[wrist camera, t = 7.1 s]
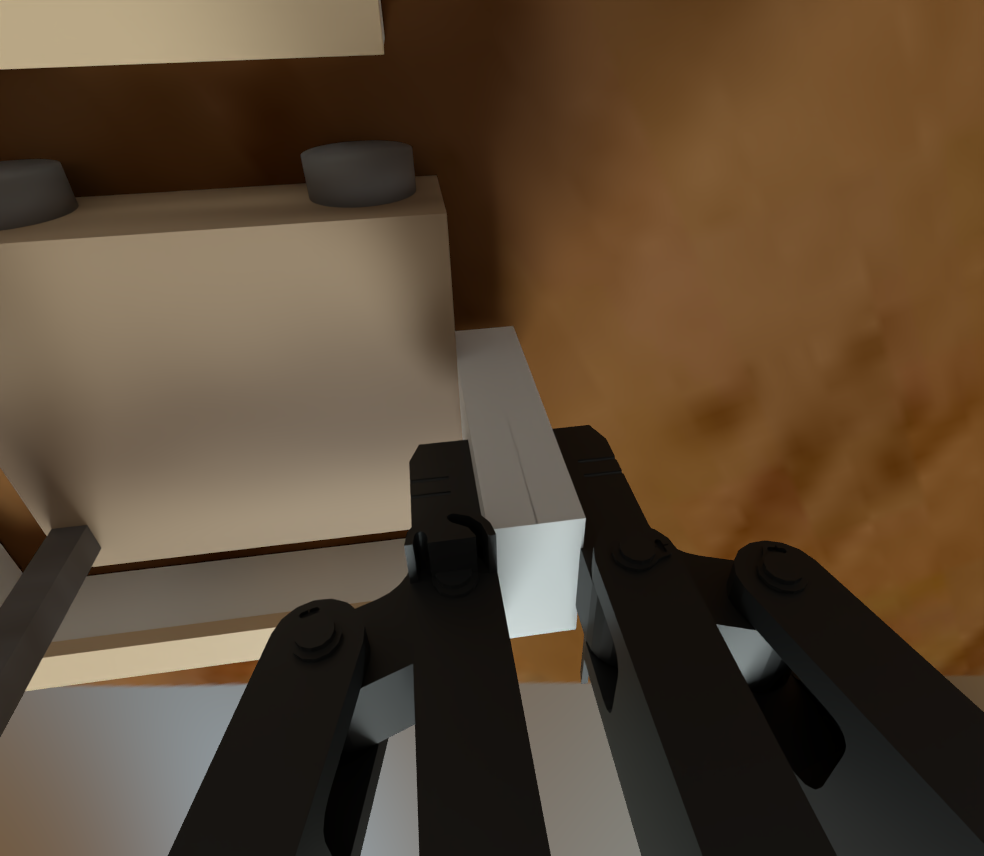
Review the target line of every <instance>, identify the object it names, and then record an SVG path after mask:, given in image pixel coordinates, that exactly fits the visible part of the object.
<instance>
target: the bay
mask: <svg viewBox="0 0 984 856" xmlns="http://www.w3.org/2000/svg"><path fill="white" fill-rule="evenodd" d="M384 40H385V36H384V27H383V17H382V8H381V0H0V69H25V68H50V67H76V66H102V65H128V64H153V63H179V62H205V61H230V60H256V59H282V58H307V57H333V56H359V55H384V46H383V45H384ZM405 539H406V538H404V539H395V540H387V541H379V542H370V543H362V544H353V545H345V546H337V547H328V548H320V549H311V550H303V551H294V552H286V553H278V554H269V555H261V556H252V557H244V558H236V559H227V560H219V561H210V562H202V563H194V564H185V565H177V566H168V567H160V568H151V569H143V570H135V571H126V572H118V573H109V574H101V575H93V576H86V578H85V580H84V582H83V584H82V586H81V588H80V589H79V591H78V593H77V595H76V597H75V599H74V601H73V602H72V604H71V606H70V608H69V610H68V612H67V614H66V616H65V617H64V619H63V621H62V623H61V625H60V627H59V629H58V630H57V632H56V634H55V636H54V638H53V640H52V642H51V644H50V645H49V647H48V649H47V651H46V653H45V655H44V657H43V658H42V660H41V662H40V664H39V666H38V668H37V670H36V672H35V673H34V675H33V677H32V679H31V681H30V683H29V685H28V686H27V688H26V690H25V691H30V690H37V689H45V688H52V687H59V686H67V685H74V684H82V683H89V682H96V681H104V680H111V679H118V678H126V677H133V676H141V675H148V674H155V673H163V672H170V671H177V670H185V669H192V668H200V667H207V666H214V665H222V664H229V663H236V662H244V661H251V660H259V659H260V657H261V654H262V652H263V650H264V648H265V646H266V644H267V642H268V639H269V637H270V635H271V633H272V632H273V631H274V629H275V628H276V626H277V625H278V623H279V622H280V620H281V619H282V618H284V617H285V616H286V615H287V614H289V613H290V612H291V611H293V610H294V609H295V608H296V607H299V606H301V605H304V604H306V603H309V602H311V601H314V600H322V599H336V600H340V601H344V602H348V603H349V604H350V605H351V606H353V607H354V608H358V607H360V606H362V605H365V604H367V603H370V602H372V601H374V600H377V599H379V598H381V597H382V596H384V595H386V594H388V593H390V592H391V591H392V590H393V589H395V588H396V587H397V586H398V585H399V584H400V583H401V582H402V581H403V579H404V578H405V577H406V576H407V574H408V567H407V561H406V555H405V549H404V543H405ZM22 574H23V573H22V571H21V570H20V569H19V567H18V566H17V565H16V563H15V562H14V561H13V559H12V558H11V557H10V555H9V554H8V553H7V551H6V550H5V549H4V547H3V546H2V545H1V543H0V607H1V606H2V604H3V603H4V601H5V600H6V598H7V597H8V595H9V593H10V592H11V590H12V589H13V587H14V586H15V584H16V583H17V581H18V580H19V578H20V577H21V575H22Z"/></svg>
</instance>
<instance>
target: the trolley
mask: <svg viewBox="0 0 984 856" xmlns="http://www.w3.org/2000/svg"><path fill="white" fill-rule="evenodd" d="M301 160H302V165H303V170H304V175H305V180H306V183H302V184H285V185H269V186H253V187H237V188H221V189H205V190H188V191H172V192H156V193H140V194H124V195H108V196H92V197H75V196H74V193H73V191H72V189H71V186H70V184H69V182H68V179H67V177H66V175H65V172H64V170H63V168H62V165H61V163H60V162H59V161H56V160H50V159H22V160H9V161H0V468H1V469H2V471H3V472H4V474H5V475H6V477H7V478H8V480H9V481H10V483H11V484H12V486H13V487H14V489H15V490H16V492H17V493H18V494H19V496H20V497H21V499H22V500H23V502H24V503H25V505H26V506H27V508H28V509H29V511H30V512H31V514H32V515H33V517H34V518H35V520H36V521H37V523H38V524H39V526H40V527H41V529H42V530H43V531H44V533H45V534H46V536H47V537H46V538H45V540H44V541H43V543H42V544H41V546H40V547H39V549H38V550H37V552H36V554H35V555H34V557H33V558H32V560H31V561H30V563H29V564H28V566H27V567H26V569H25V570H24V572H23V574H22V575H21V577H20V578H19V580H18V581H17V583H16V584H15V586H14V587H13V589H12V590H11V592H10V593H9V595H8V597H7V598H6V600H5V601H4V603H3V604H2V606H1V607H0V737H1V735H2V733H3V731H4V729H5V728H6V725H7V724H8V722H9V720H10V718H11V716H12V714H13V713H14V710H15V709H16V707H17V705H18V703H19V701H20V699H21V698H22V696H23V694H24V692H25V690H26V688H27V686H28V685H29V683H30V681H31V679H32V677H33V675H34V673H35V672H36V670H37V668H38V666H39V664H40V662H41V660H42V658H43V657H44V655H45V653H46V651H47V649H48V647H49V645H50V644H51V642H52V640H53V638H54V636H55V634H56V632H57V630H58V629H59V627H60V625H61V623H62V621H63V619H64V617H65V616H66V614H67V612H68V610H69V608H70V606H71V604H72V602H73V601H74V599H75V597H76V595H77V593H78V591H79V589H80V588H81V586H82V584H83V582H84V580H85V578H86V576H87V575H88V573H89V571H90V569H91V567H97V566H105V565H114V564H122V563H130V562H139V561H147V560H156V559H164V558H173V557H181V556H190V555H198V554H206V553H215V552H223V551H232V550H240V549H249V548H257V547H266V546H274V545H282V544H291V543H299V542H308V541H316V540H325V539H333V538H342V537H350V536H358V535H367V534H375V533H384V532H392V531H401V530H409V529H410V528H411V527H412V526H411V496H410V470H409V461H410V460H411V458H412V456H413V454H414V452H415V451H416V449H417V447H418V445H420V444H429V443H439V442H448V441H458V440H463V437H462V423H461V409H460V396H459V382H458V368H457V351H456V337H455V323H454V309H453V295H452V280H451V266H450V252H449V238H448V224H447V213H446V209H445V205H444V201H443V197H442V193H441V190H440V186H439V182H438V178H437V175H431V176H415V172H414V161H413V151H412V146H410V145H408V144H406V143H402V142H395V141H381V140H367V141H350V142H341V143H333V144H327V145H322V146H318V147H314V148H311V149H308V150H306V151H304V152H303V153H302V154H301Z"/></svg>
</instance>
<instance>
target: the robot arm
mask: <svg viewBox="0 0 984 856" xmlns="http://www.w3.org/2000/svg"><path fill="white" fill-rule="evenodd" d="M455 337H456V351H457V368H458V382H459V396H460V409H461V423H462V437H463V440H458V441H448V442H439V443H429V444H420V445H418V447H417V449H416V451H415V452H414V454H413V456H412V458H411V460H410V461H409V470H410V496H411V526H412V527H411V528H410V529H409V531H408V532H407V535H406V539H405V543H404V549H405V555H406V561H407V567H408V574H407V576H406V577H405V578H404V579H403V581H402V582H401V583H400V584H399V585H398V586H397V587H396V588H395V589H393V590H392V591H391V592H390V593H388V594H386V595H384V596H382V597H381V598H379V599H377V600H374V601H372V602H370V603H367V604H365V605H362V606H360V607H358V608H354V607H353V606H351V605H350V604H349V603H348V602H344V601H340V600H336V599H322V600H314V601H311V602H309V603H306V604H304V605H301V606H299V607H296V608H295V609H294V610H293V611H291V612H290V613H289V614H287V615H286V616H285V617H284V618H282V619H281V620H280V622H279V623H278V625H277V626H276V628H275V629H274V631H273V632H272V633H271V635H270V637H269V639H268V642H267V644H266V646H265V648H264V650H263V652H262V654H261V657H260V659H259V661H258V663H257V665H256V667H255V669H254V672H253V674H252V676H251V678H250V680H249V682H248V685H247V687H246V689H245V691H244V693H243V695H242V697H241V700H240V702H239V704H238V706H237V708H236V710H235V712H234V715H233V717H232V719H231V721H230V723H229V725H228V728H227V730H226V732H225V734H224V736H223V738H222V740H221V743H220V745H219V747H218V749H217V751H216V754H215V756H214V758H213V760H212V762H211V764H210V766H209V768H208V771H207V773H206V775H205V777H204V779H203V781H202V783H201V786H200V788H199V790H198V792H197V794H196V796H195V799H194V801H193V803H192V805H191V807H190V809H189V811H188V814H187V816H186V818H185V820H184V822H183V824H182V826H181V829H180V831H179V833H178V835H177V837H176V840H175V841H174V844H173V846H172V848H171V850H170V852H169V854H168V856H360V855H361V850H362V846H363V842H364V838H365V834H366V829H367V825H368V821H369V817H370V813H371V809H372V805H373V801H374V796H375V792H376V788H377V784H378V780H379V775H380V771H381V767H382V763H383V759H384V755H385V751H386V746H387V742H388V738H389V737H391V736H393V735H395V734H397V733H399V732H401V731H403V730H404V729H406V728H408V727H410V726H412V725H414V724H415V737H416V765H417V766H416V767H417V797H418V827H419V856H551V854H550V849H549V843H548V838H547V833H546V827H545V822H544V817H543V812H542V806H541V801H540V796H539V790H538V785H537V780H536V774H535V769H534V764H533V759H532V753H531V748H530V742H529V737H528V732H527V726H526V721H525V716H524V711H523V706H522V700H521V694H520V689H519V684H518V679H517V673H516V668H515V663H514V657H513V652H512V647H511V641H510V638H516V637H523V636H530V635H537V634H545V633H552V632H559V631H566V630H573V629H576V621H577V612H578V615H579V618H580V622H581V625H582V628H583V631H584V643H583V652H582V662H581V671H580V672H581V684H585V683H588V675H589V677H590V681H591V684H592V687H593V691H594V695H595V698H596V701H597V705H598V708H599V712H600V715H601V718H602V722H603V725H604V729H605V732H606V736H607V739H608V743H609V746H610V749H611V753H612V756H613V760H614V763H615V767H616V770H617V773H618V777H619V780H620V783H621V787H622V791H623V794H624V798H625V801H626V804H627V808H628V811H629V815H630V818H631V822H632V825H633V828H634V832H635V835H636V839H637V842H638V846H639V849H640V852H641V856H984V712H983V711H982V710H981V709H980V708H978V707H977V706H976V705H975V704H974V703H973V702H972V701H971V700H970V699H968V698H967V697H966V696H965V695H964V694H963V693H962V692H961V691H960V690H959V689H957V688H956V687H955V686H954V685H953V684H952V683H951V682H950V681H949V680H947V679H946V678H945V677H944V676H943V675H942V674H941V673H940V672H939V671H937V670H936V669H935V668H934V667H933V666H932V665H931V664H930V663H929V662H928V661H926V660H925V659H924V658H923V657H922V656H921V655H920V654H919V653H918V652H916V651H915V650H914V649H913V648H912V647H911V646H910V645H909V644H908V643H906V642H905V641H904V640H903V639H902V638H901V637H900V636H899V635H898V634H896V633H895V632H894V631H893V630H892V629H891V628H890V627H889V626H888V625H887V624H885V623H884V622H883V621H882V620H881V619H880V618H879V617H878V616H877V615H875V614H874V613H873V612H872V611H871V610H870V609H869V608H868V607H867V606H865V605H864V604H863V603H862V602H861V601H860V600H859V599H858V598H857V597H855V596H854V595H853V594H852V593H851V592H850V591H849V590H848V589H847V588H846V587H844V586H843V585H842V584H841V583H840V582H839V581H838V580H837V579H836V578H834V577H833V576H832V575H831V574H830V573H829V572H828V571H827V570H826V569H824V568H823V567H822V566H821V565H820V564H819V563H818V562H817V561H816V560H814V559H813V558H811V557H810V556H808V555H807V554H806V553H804V552H803V551H801V550H800V549H797V548H794V547H792V546H789V545H787V544H784V543H780V542H772V541H759V542H753V543H749V544H748V545H746V546H744V547H743V548H741V549H740V550H739V551H738V553H737V555H736V557H735V560H727V559H719V558H712V557H705V556H698V555H694V554H689V553H685V552H683V551H680V550H678V549H677V548H676V547H675V546H674V545H673V543H672V542H671V541H670V540H669V539H668V538H667V537H666V536H664V535H663V534H661V533H660V532H658V531H656V530H655V529H652V528H651V527H650V526H649V524H648V522H647V520H646V518H645V516H644V514H643V512H642V510H641V508H640V506H639V504H638V502H637V500H636V498H635V496H634V494H633V492H632V490H631V488H630V486H629V484H628V482H627V480H626V478H625V476H624V474H622V470H621V468H620V466H619V464H618V462H617V460H616V459H615V456H614V454H613V452H612V450H611V448H610V446H609V444H608V442H607V440H606V438H604V437H603V436H602V435H601V434H600V433H598V432H597V431H596V430H595V429H593V428H592V427H591V426H590V425H585V426H575V427H566V428H556V429H552V427H551V425H550V422H549V419H548V417H547V414H546V411H545V409H544V406H543V404H542V401H541V398H540V396H539V393H538V390H537V388H536V385H535V382H534V380H533V377H532V374H531V372H530V369H529V366H528V364H527V361H526V359H525V356H524V353H523V351H522V348H521V345H520V343H519V340H518V337H517V335H516V332H515V329H514V327H513V326H508V327H496V328H485V329H474V330H462V331H455Z"/></svg>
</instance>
